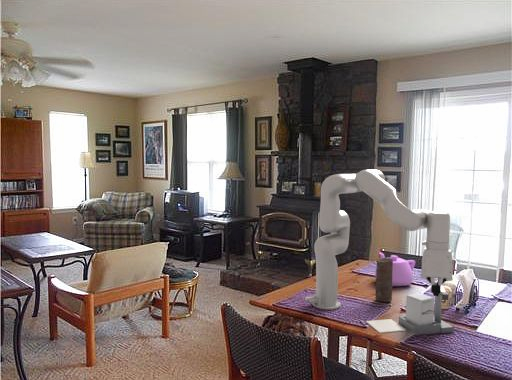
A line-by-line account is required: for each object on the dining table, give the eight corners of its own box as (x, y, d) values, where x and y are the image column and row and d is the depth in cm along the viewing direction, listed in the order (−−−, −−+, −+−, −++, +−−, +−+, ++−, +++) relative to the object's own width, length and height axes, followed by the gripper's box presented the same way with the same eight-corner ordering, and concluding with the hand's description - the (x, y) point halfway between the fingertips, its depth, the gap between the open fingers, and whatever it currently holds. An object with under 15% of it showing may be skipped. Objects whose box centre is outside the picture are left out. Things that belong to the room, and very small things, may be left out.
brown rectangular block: (392, 304, 184) (393, 260, 183) (376, 303, 186) (376, 260, 184) (390, 299, 192) (391, 257, 190) (374, 297, 193) (375, 256, 192)
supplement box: (420, 333, 153) (421, 300, 152) (404, 326, 160) (405, 294, 159) (433, 329, 156) (434, 297, 156) (418, 323, 163) (418, 292, 162)
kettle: (423, 286, 211) (424, 258, 210) (386, 289, 206) (387, 260, 205) (399, 275, 233) (399, 249, 232) (365, 277, 228) (365, 250, 227)
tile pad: (379, 333, 153) (379, 332, 153) (366, 322, 164) (366, 321, 164) (406, 330, 155) (406, 329, 155) (391, 319, 166) (391, 319, 166)
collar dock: (415, 335, 151) (416, 294, 150) (397, 323, 163) (398, 285, 162) (453, 332, 154) (454, 292, 153) (433, 320, 166) (434, 282, 165)
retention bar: (450, 300, 144) (450, 294, 144) (440, 299, 145) (440, 293, 144) (442, 286, 160) (442, 281, 159) (433, 285, 160) (433, 281, 160)
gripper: (416, 246, 146) (414, 296, 148) (462, 249, 142) (460, 300, 143) (414, 242, 153) (413, 290, 155) (458, 245, 149) (456, 294, 150)
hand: (435, 295), depth 149 cm, fingers closed
